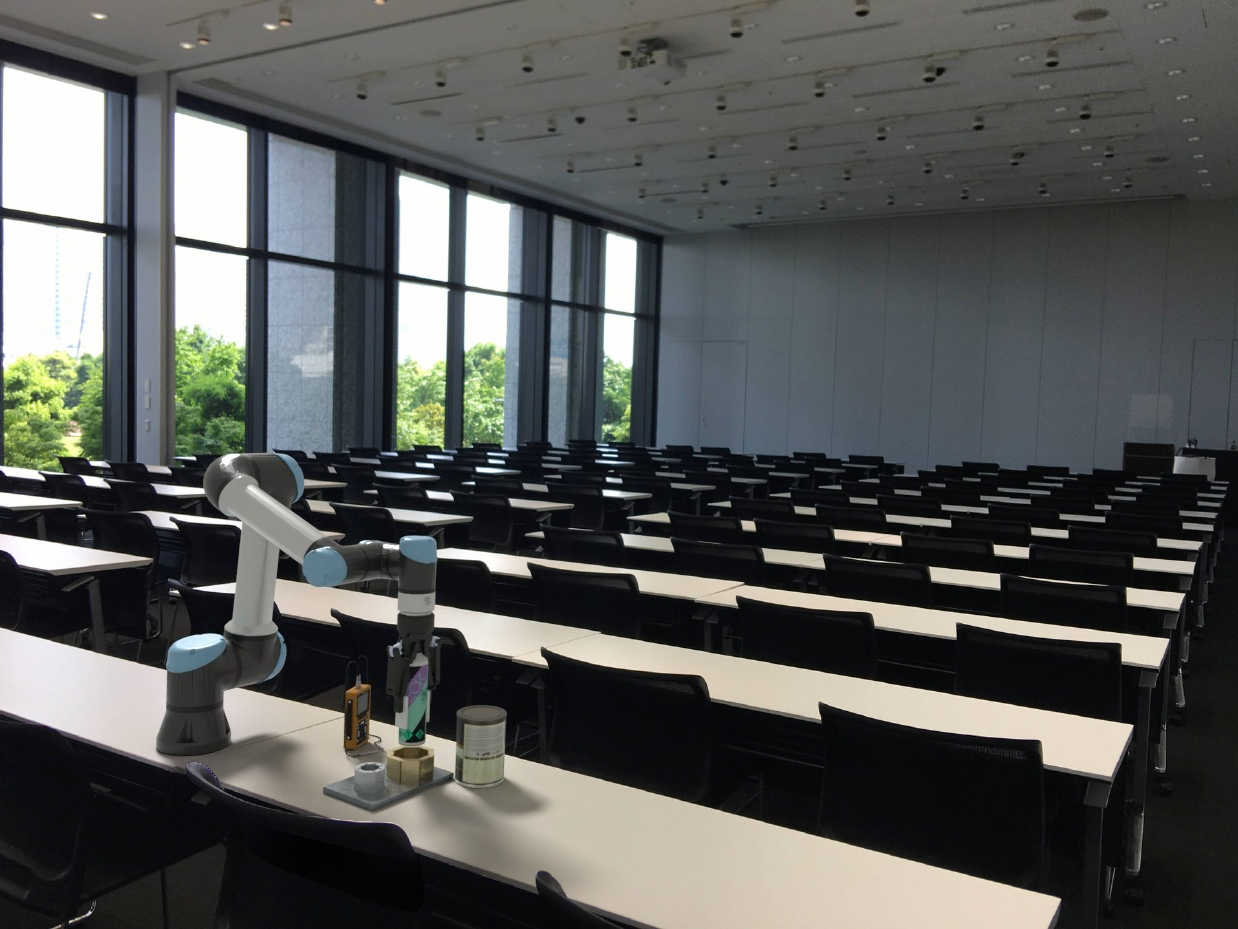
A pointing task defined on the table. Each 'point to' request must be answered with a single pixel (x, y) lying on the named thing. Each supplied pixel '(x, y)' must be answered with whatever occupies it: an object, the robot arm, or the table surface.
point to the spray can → (416, 703)
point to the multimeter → (357, 714)
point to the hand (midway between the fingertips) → (412, 723)
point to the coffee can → (480, 746)
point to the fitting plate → (390, 778)
